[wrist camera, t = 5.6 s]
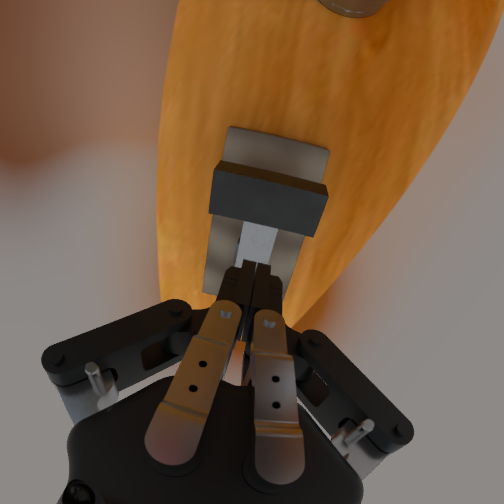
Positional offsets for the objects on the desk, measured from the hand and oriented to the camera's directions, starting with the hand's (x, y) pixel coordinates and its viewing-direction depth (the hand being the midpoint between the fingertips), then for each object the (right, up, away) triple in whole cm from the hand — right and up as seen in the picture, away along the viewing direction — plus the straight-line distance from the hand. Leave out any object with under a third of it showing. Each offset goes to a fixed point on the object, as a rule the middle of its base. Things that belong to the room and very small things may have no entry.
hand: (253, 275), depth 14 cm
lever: (0, +1, +15) cm, 15 cm away
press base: (+1, +5, +22) cm, 23 cm away
